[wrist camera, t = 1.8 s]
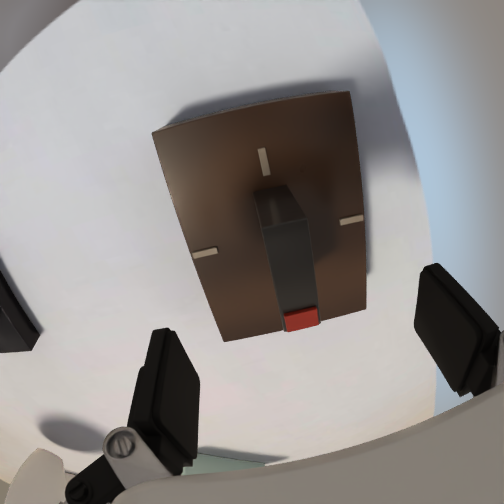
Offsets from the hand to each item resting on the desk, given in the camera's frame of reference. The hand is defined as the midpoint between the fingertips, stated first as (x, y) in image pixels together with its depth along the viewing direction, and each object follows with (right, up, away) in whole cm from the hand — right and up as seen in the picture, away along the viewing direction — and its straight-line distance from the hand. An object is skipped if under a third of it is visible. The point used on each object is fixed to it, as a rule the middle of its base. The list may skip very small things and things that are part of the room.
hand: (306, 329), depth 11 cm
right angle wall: (-8, -31, +28) cm, 42 cm away
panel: (-1, +5, +9) cm, 10 cm away
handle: (0, +4, +6) cm, 7 cm away
